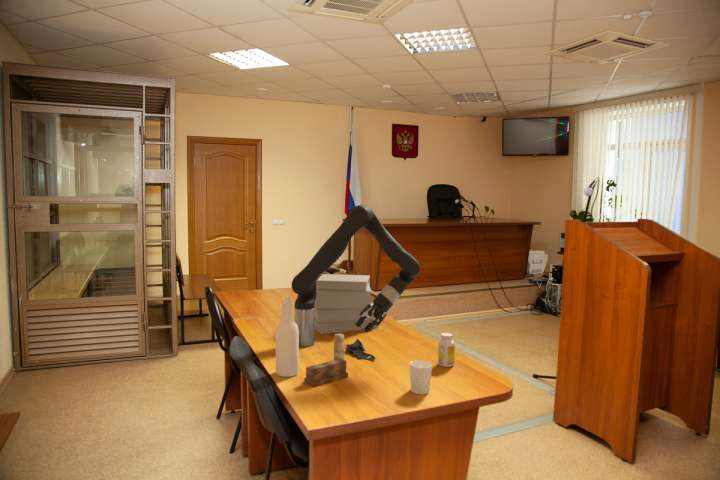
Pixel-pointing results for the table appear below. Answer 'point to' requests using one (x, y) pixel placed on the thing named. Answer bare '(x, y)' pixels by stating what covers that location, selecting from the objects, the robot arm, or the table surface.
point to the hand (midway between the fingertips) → (361, 328)
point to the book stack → (341, 302)
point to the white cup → (420, 377)
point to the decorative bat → (359, 350)
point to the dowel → (338, 346)
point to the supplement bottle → (446, 350)
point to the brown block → (326, 372)
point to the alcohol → (287, 342)
